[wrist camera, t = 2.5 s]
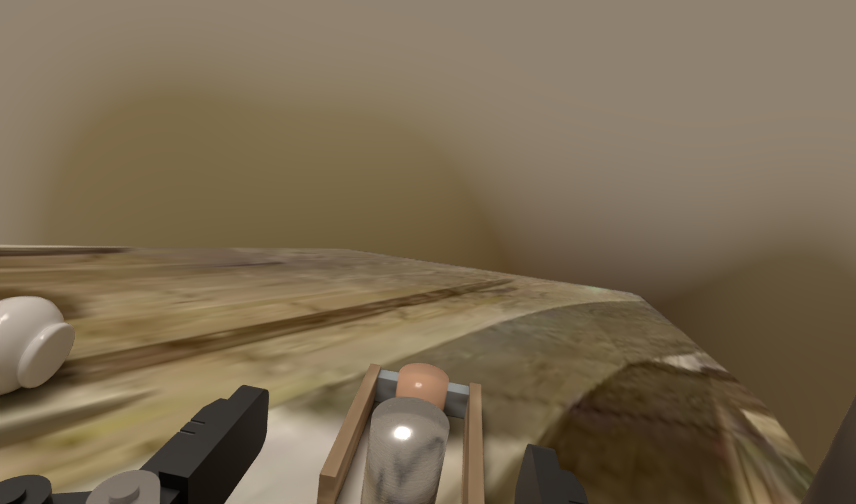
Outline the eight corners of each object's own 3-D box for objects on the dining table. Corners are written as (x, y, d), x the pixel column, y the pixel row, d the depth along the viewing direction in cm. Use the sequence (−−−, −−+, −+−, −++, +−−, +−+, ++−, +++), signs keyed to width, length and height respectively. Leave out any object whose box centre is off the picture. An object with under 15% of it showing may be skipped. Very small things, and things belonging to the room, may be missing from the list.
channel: (475, 411, 46) (480, 384, 45) (475, 545, 31) (484, 508, 30) (367, 390, 47) (370, 363, 46) (316, 510, 32) (319, 474, 31)
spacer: (441, 416, 45) (450, 368, 43) (437, 450, 40) (447, 396, 38) (395, 407, 45) (403, 359, 43) (386, 439, 40) (394, 386, 39)
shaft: (425, 542, 31) (451, 404, 27) (416, 613, 26) (447, 457, 23) (362, 528, 31) (380, 390, 28) (342, 596, 26) (362, 440, 23)
